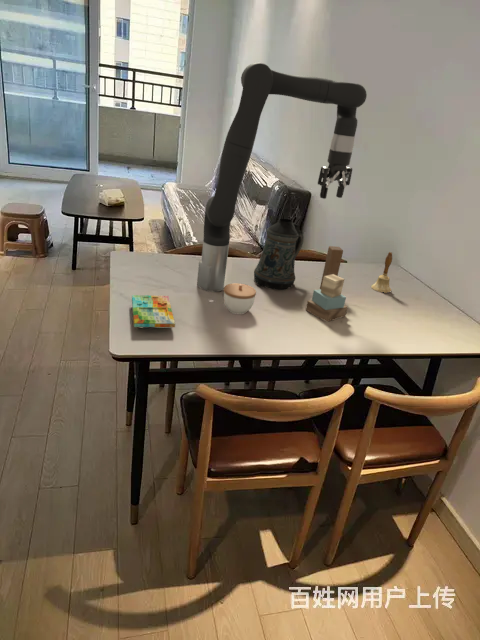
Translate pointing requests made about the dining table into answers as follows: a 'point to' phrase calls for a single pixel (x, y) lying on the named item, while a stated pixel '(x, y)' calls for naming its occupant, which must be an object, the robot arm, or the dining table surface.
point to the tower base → (325, 311)
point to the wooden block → (332, 262)
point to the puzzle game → (152, 311)
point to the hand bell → (384, 277)
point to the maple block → (332, 285)
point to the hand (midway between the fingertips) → (330, 197)
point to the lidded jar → (239, 297)
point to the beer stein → (279, 256)
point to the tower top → (328, 300)
